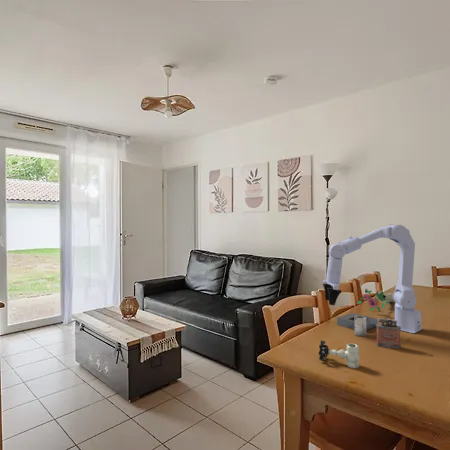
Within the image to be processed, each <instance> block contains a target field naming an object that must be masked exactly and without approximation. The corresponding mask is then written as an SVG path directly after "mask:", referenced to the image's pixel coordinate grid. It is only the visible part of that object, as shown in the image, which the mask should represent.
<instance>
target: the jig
mask: <svg viewBox="0 0 450 450" xmlns="http://www.w3.org/2000/svg"><path fill="white" fill-rule="evenodd" d="M354 316H364V317H366V331H368V330H370V329H373V328H375V327H376V324H379V322H378V319H379V318H375V317H371V316H368V315H363V314H359V313H355V312H351V313H348V314H345V315H342V316H339V317H337V318H336V325H338V326H340V325H341V327H344V328H348V329H352V330H355V328H354ZM376 328H377V327H376Z"/></svg>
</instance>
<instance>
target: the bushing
mask: <svg viewBox="0 0 450 450" xmlns="http://www.w3.org/2000/svg"><path fill="white" fill-rule="evenodd" d="M364 316H365V315H363V316H354V328H355V329H354V335H355V336H356V337H357V336H358V337H366V336H367V330H366V317H364Z"/></svg>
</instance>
